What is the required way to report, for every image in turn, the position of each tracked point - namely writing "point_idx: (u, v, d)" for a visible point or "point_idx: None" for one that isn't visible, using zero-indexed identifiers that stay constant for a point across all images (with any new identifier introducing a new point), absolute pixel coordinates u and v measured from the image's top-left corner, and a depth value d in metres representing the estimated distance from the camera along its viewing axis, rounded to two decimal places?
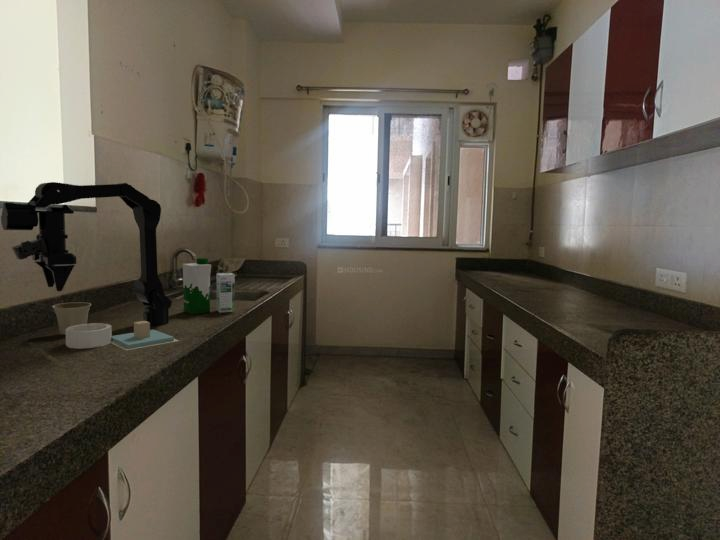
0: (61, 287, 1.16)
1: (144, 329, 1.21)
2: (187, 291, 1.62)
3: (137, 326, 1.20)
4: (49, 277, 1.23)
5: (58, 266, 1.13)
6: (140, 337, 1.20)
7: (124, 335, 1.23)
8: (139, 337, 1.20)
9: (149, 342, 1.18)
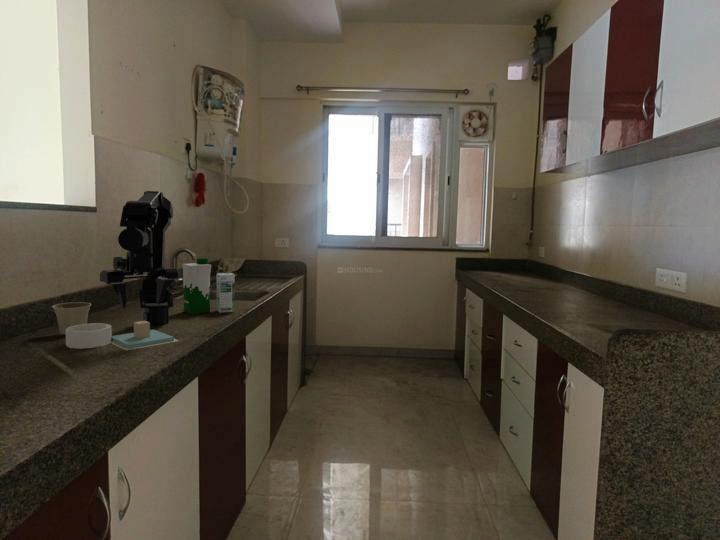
0: (122, 305, 1.17)
1: (144, 329, 1.21)
2: (187, 291, 1.62)
3: (137, 326, 1.20)
4: (158, 294, 1.25)
5: (108, 283, 1.15)
6: (140, 337, 1.20)
7: (124, 335, 1.23)
8: (139, 337, 1.20)
9: (149, 342, 1.18)
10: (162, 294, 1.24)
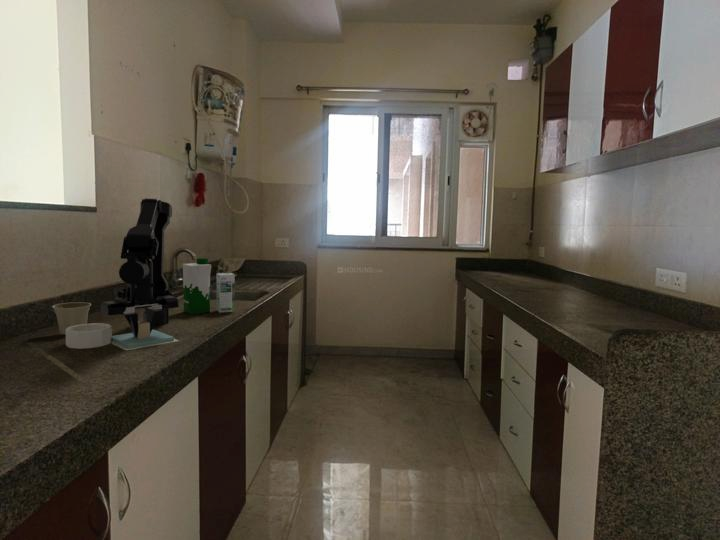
0: (134, 333, 1.20)
1: (144, 329, 1.21)
2: (187, 291, 1.62)
3: None
4: None
5: None
6: (140, 337, 1.20)
7: (124, 335, 1.23)
8: (139, 337, 1.20)
9: (149, 342, 1.18)
10: (151, 325, 1.23)
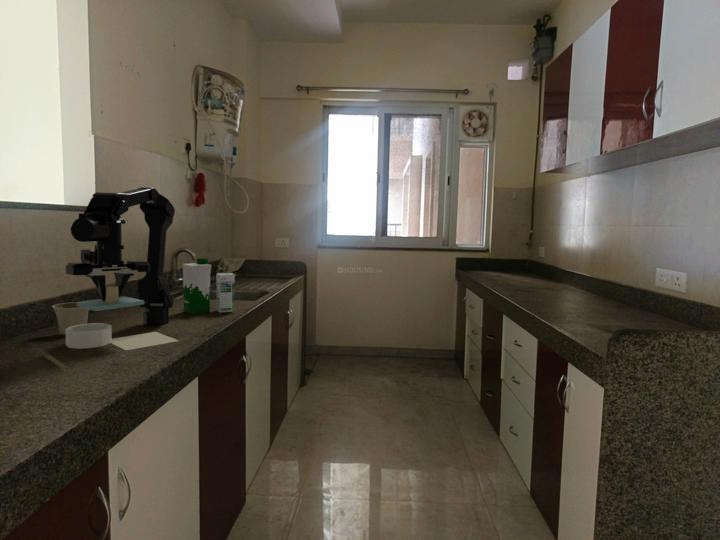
0: (102, 297, 1.16)
1: (112, 293, 1.17)
2: (187, 291, 1.62)
3: None
4: None
5: (87, 275, 1.14)
6: (108, 301, 1.17)
7: (92, 301, 1.19)
8: (107, 301, 1.16)
9: (118, 305, 1.14)
10: (120, 289, 1.19)
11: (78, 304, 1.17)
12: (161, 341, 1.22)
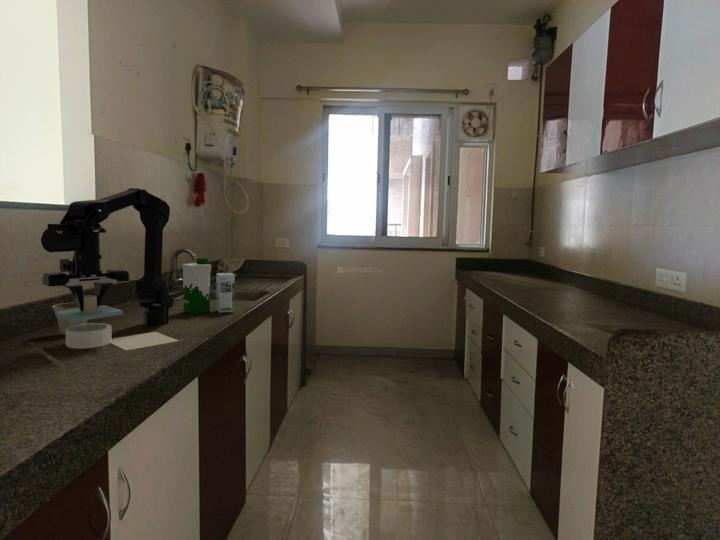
0: (80, 307, 1.15)
1: (90, 303, 1.16)
2: (187, 291, 1.62)
3: (83, 300, 1.15)
4: None
5: (64, 285, 1.13)
6: (86, 311, 1.15)
7: (71, 310, 1.18)
8: (85, 311, 1.15)
9: (94, 316, 1.13)
10: (99, 299, 1.18)
11: (56, 314, 1.16)
12: (161, 341, 1.22)
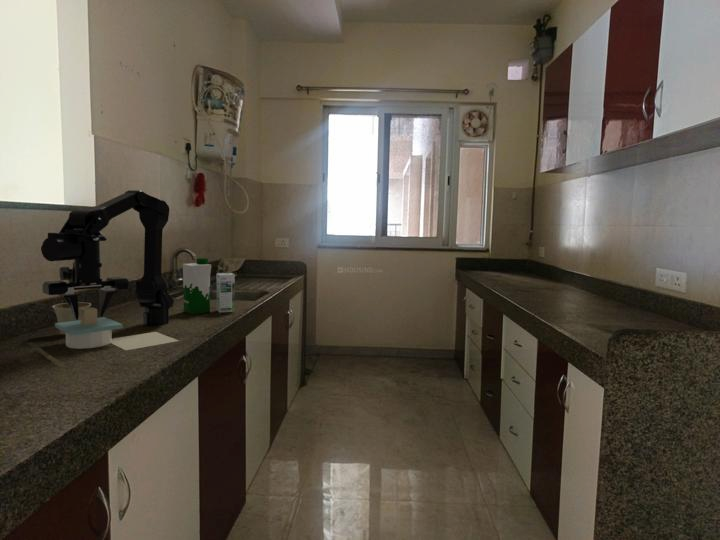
0: (74, 316, 1.14)
1: (91, 316, 1.16)
2: (187, 291, 1.62)
3: (83, 313, 1.15)
4: (100, 306, 1.19)
5: (59, 294, 1.12)
6: (86, 324, 1.15)
7: (71, 322, 1.18)
8: (85, 324, 1.15)
9: (94, 329, 1.13)
10: (104, 306, 1.19)
11: (56, 325, 1.16)
12: (161, 341, 1.22)
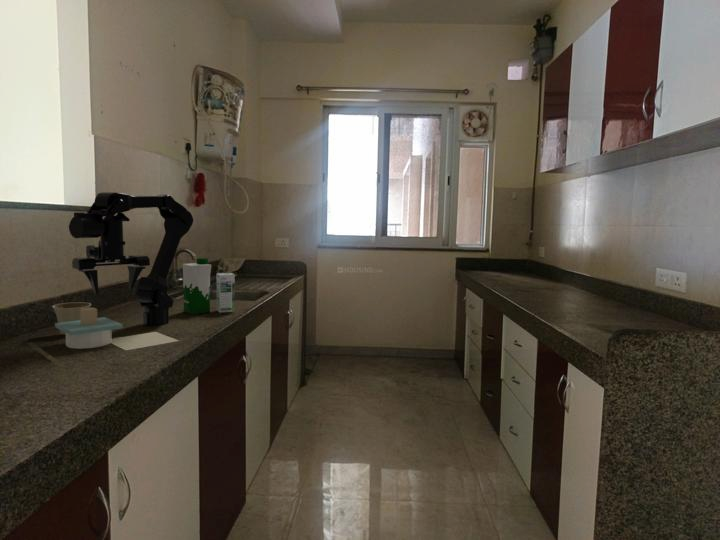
0: (94, 290, 1.23)
1: (91, 316, 1.16)
2: (187, 291, 1.62)
3: (83, 313, 1.15)
4: (130, 281, 1.31)
5: (80, 270, 1.21)
6: (86, 324, 1.15)
7: (71, 322, 1.18)
8: (85, 324, 1.15)
9: (94, 329, 1.13)
10: (133, 281, 1.30)
11: (56, 325, 1.16)
12: (161, 341, 1.22)
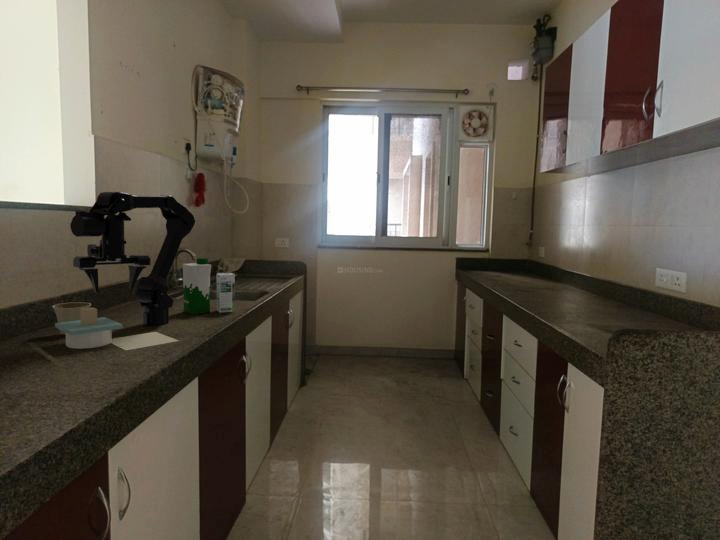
0: (95, 289, 1.24)
1: (91, 316, 1.16)
2: (187, 291, 1.62)
3: (83, 313, 1.15)
4: (130, 280, 1.31)
5: (81, 268, 1.22)
6: (86, 324, 1.15)
7: (71, 322, 1.18)
8: (85, 324, 1.15)
9: (94, 329, 1.13)
10: (134, 280, 1.31)
11: (56, 325, 1.16)
12: (161, 341, 1.22)
